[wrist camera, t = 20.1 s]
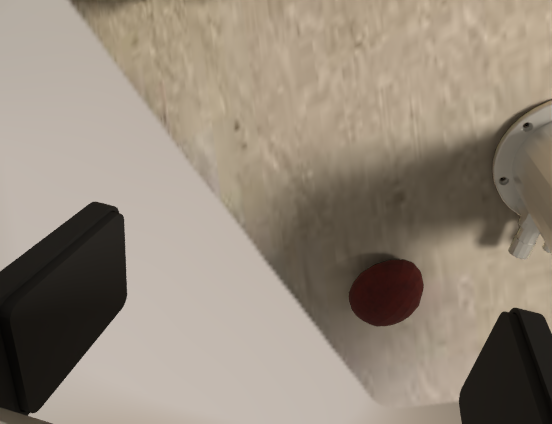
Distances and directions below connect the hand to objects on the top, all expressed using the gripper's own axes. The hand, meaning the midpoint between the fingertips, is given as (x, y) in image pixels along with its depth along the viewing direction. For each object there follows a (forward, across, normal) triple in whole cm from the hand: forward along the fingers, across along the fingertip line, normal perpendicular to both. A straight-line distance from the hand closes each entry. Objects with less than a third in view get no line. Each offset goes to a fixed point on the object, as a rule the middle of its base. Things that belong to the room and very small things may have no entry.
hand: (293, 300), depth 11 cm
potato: (+37, -8, +24) cm, 44 cm away
